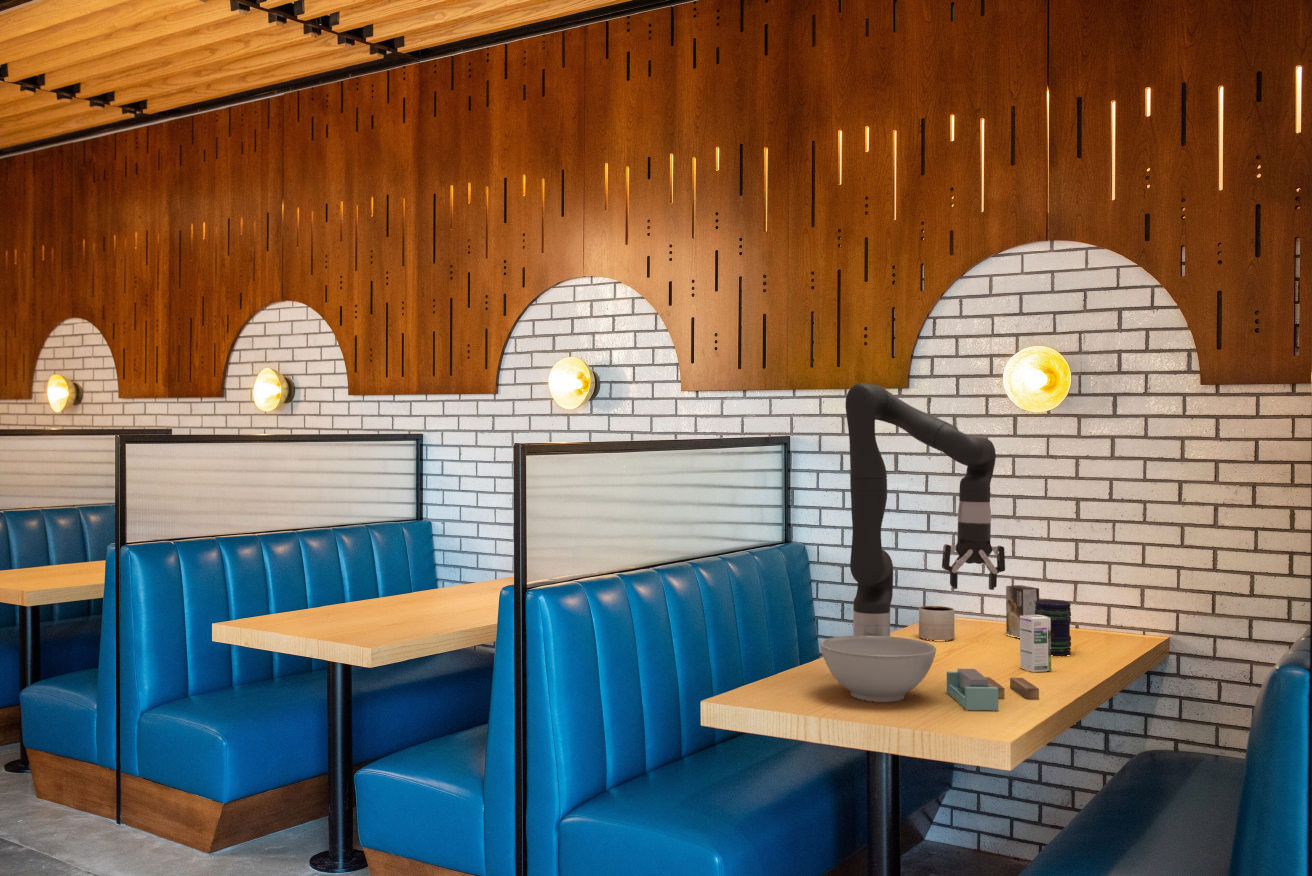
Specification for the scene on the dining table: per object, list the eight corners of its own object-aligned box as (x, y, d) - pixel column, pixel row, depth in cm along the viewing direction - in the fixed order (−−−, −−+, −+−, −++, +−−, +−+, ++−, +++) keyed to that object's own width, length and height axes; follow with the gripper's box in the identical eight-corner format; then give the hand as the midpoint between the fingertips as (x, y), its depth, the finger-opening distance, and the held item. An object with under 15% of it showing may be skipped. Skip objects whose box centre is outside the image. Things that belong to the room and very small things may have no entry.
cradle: (966, 710, 230) (966, 688, 230) (946, 692, 248) (946, 671, 248) (998, 711, 230) (998, 688, 230) (975, 692, 248) (975, 671, 248)
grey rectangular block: (970, 701, 232) (969, 679, 232) (957, 689, 244) (957, 668, 244) (988, 702, 232) (987, 679, 232) (974, 690, 244) (974, 668, 244)
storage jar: (1036, 656, 295) (1036, 603, 295) (1032, 650, 305) (1032, 599, 305) (1073, 657, 293) (1073, 605, 293) (1068, 651, 302) (1068, 600, 303)
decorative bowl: (957, 697, 243) (957, 645, 244) (894, 716, 225) (895, 660, 225) (862, 679, 263) (862, 631, 263) (797, 695, 244) (797, 644, 244)
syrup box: (1033, 673, 271) (1032, 617, 272) (1019, 668, 277) (1019, 614, 277) (1051, 671, 273) (1051, 617, 273) (1037, 667, 279) (1037, 613, 279)
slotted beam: (991, 698, 242) (991, 688, 242) (977, 687, 254) (977, 677, 254) (1038, 699, 241) (1038, 688, 241) (1022, 687, 253) (1022, 677, 253)
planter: (917, 640, 319) (917, 609, 319) (919, 635, 329) (919, 605, 329) (954, 642, 316) (954, 611, 316) (954, 637, 326) (954, 606, 326)
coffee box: (1040, 639, 322) (1040, 588, 323) (1023, 640, 320) (1023, 588, 321) (1021, 634, 331) (1021, 584, 331) (1005, 635, 329) (1005, 585, 329)
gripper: (1000, 520, 248) (999, 587, 248) (940, 519, 249) (939, 586, 249) (1009, 522, 240) (1007, 592, 240) (947, 521, 241) (946, 590, 241)
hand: (972, 589), depth 244 cm, fingers open, 8 cm apart
